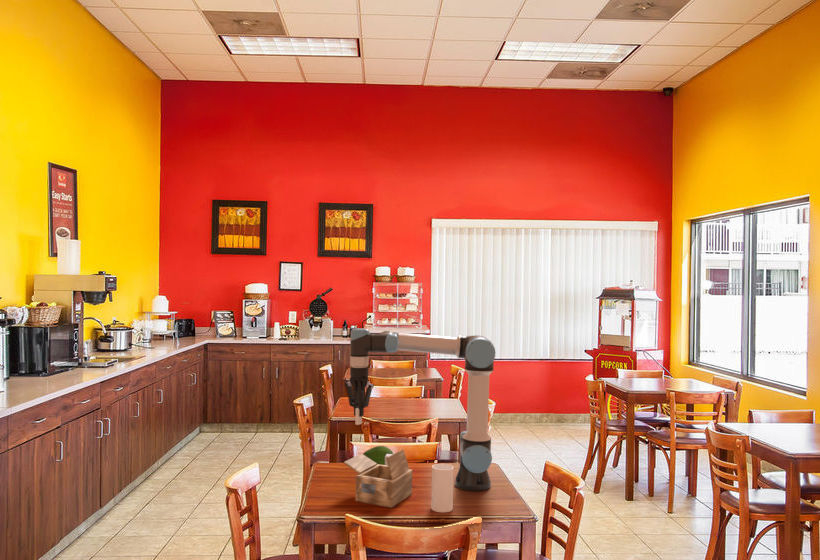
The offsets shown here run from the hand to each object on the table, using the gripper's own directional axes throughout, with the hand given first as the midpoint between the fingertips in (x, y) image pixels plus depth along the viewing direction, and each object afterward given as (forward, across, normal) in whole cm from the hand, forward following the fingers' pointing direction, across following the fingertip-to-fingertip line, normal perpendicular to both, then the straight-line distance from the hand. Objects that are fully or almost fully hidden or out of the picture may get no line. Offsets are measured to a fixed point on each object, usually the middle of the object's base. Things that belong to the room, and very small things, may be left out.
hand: (358, 424), depth 255 cm
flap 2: (+18, -20, 0) cm, 26 cm away
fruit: (+28, +10, -35) cm, 46 cm away
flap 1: (+18, -5, 0) cm, 18 cm away
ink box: (+28, -7, -19) cm, 35 cm away
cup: (+29, -37, 0) cm, 47 cm away
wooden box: (+28, -12, 0) cm, 31 cm away
